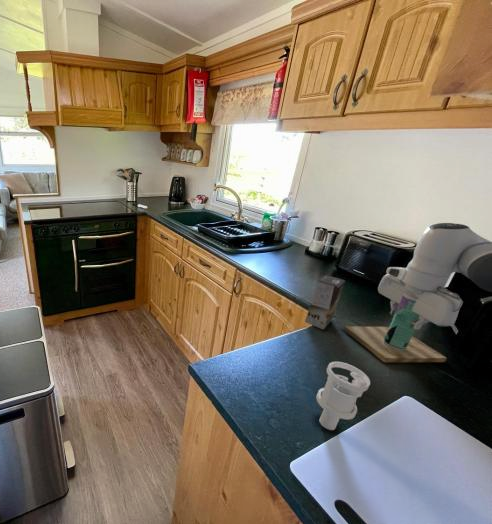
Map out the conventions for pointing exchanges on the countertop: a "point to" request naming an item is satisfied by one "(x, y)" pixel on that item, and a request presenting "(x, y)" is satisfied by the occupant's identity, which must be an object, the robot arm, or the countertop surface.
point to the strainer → (340, 395)
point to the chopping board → (374, 343)
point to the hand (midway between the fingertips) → (403, 321)
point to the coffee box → (324, 301)
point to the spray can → (402, 323)
